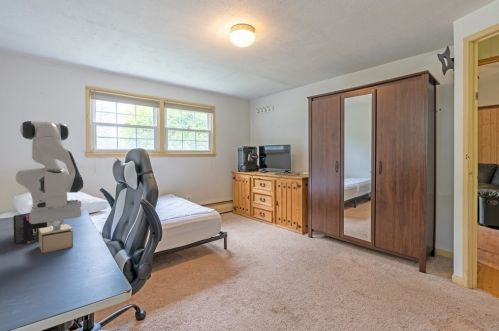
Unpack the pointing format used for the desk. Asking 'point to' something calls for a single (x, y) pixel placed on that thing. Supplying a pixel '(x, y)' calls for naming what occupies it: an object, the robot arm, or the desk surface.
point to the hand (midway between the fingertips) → (56, 229)
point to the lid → (50, 230)
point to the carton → (55, 241)
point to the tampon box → (26, 229)
